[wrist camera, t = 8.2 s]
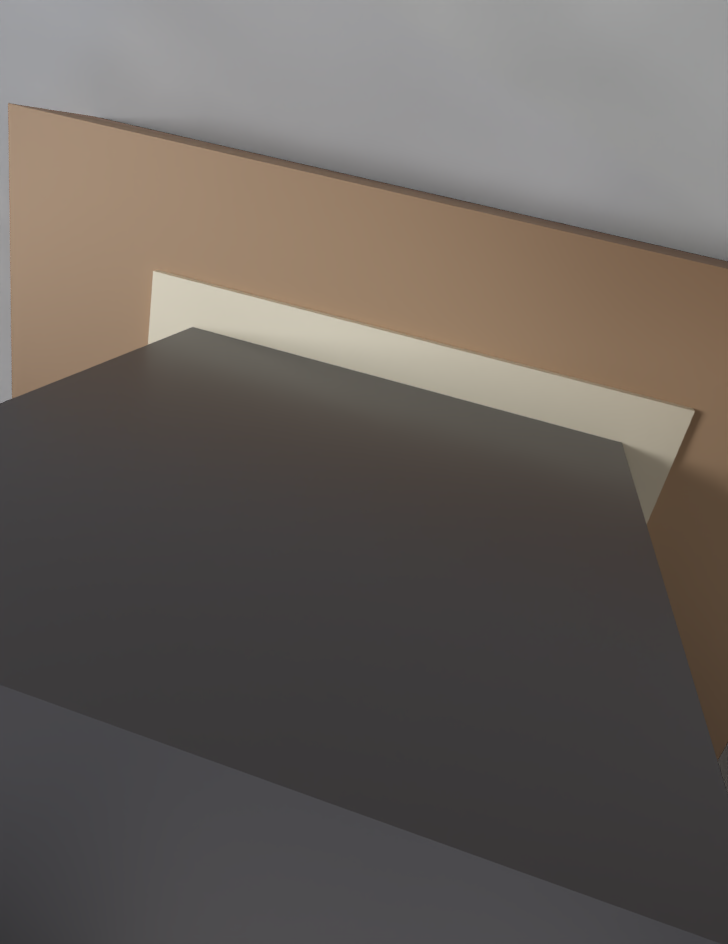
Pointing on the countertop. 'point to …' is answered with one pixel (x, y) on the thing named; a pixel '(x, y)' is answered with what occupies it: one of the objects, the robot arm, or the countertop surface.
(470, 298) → the pin board
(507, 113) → the countertop surface
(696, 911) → the block
